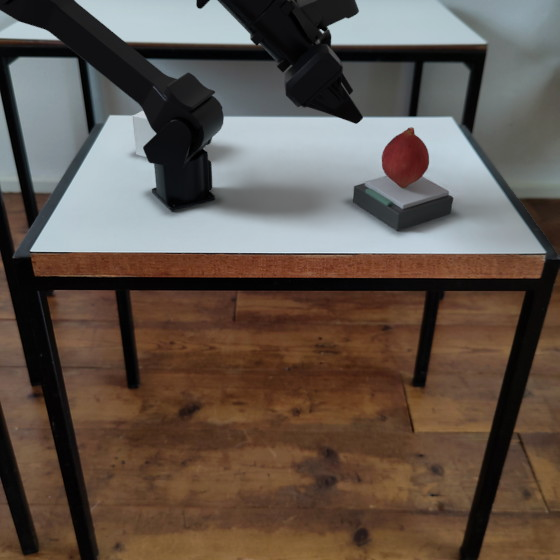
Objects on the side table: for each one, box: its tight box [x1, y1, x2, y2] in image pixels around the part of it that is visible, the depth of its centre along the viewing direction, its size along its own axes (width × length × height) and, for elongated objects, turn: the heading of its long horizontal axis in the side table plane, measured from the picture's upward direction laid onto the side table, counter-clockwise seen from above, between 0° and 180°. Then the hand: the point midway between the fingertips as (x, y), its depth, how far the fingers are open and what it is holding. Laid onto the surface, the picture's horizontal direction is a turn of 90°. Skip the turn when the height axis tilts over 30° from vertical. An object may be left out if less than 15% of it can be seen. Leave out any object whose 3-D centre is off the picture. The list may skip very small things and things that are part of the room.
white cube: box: [131, 110, 156, 158], centre depth 102 cm, size 6×6×6 cm
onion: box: [381, 126, 430, 188], centre depth 86 cm, size 6×6×8 cm
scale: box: [352, 175, 454, 232], centre depth 89 cm, size 9×9×3 cm
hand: (354, 106), depth 82 cm, fingers open, 9 cm apart
